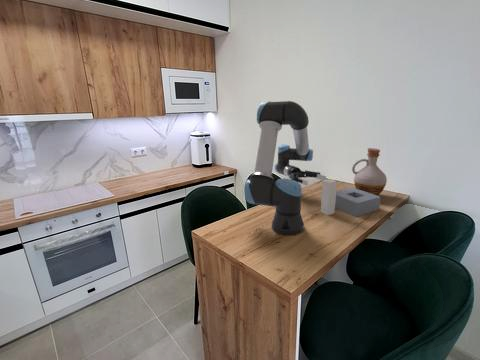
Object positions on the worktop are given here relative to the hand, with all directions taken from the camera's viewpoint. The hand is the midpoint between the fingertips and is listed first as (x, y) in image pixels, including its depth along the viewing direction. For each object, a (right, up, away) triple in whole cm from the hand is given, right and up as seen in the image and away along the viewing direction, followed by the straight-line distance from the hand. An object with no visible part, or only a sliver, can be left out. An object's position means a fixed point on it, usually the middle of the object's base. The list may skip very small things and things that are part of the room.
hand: (316, 180), depth 140 cm
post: (+5, -17, -4) cm, 18 cm away
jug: (+37, -10, +18) cm, 42 cm away
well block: (+22, -15, +2) cm, 26 cm away
